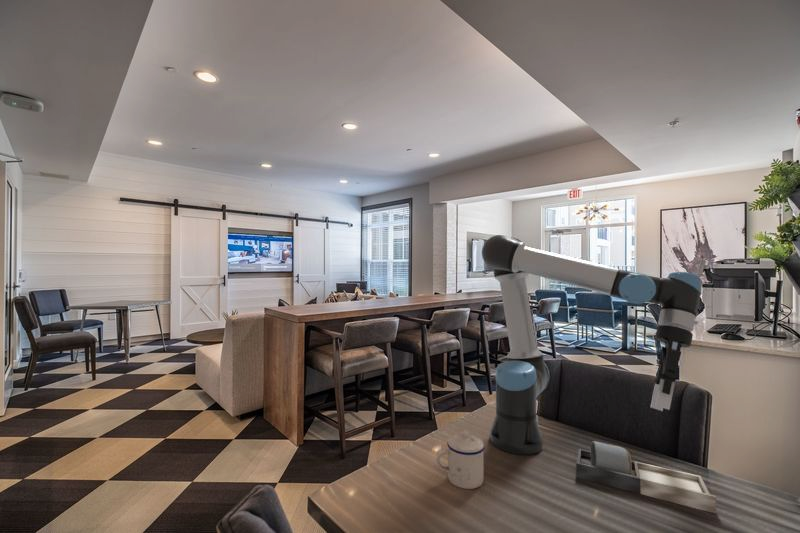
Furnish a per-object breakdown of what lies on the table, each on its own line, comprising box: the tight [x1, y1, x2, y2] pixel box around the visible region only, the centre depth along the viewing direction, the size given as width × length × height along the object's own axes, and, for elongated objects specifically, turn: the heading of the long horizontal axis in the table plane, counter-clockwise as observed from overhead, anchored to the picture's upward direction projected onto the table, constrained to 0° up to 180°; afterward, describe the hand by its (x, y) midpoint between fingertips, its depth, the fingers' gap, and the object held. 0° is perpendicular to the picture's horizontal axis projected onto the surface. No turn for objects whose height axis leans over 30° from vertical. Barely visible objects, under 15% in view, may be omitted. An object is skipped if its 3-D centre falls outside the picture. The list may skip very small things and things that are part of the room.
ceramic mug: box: [590, 440, 633, 475], centre depth 91 cm, size 11×8×8 cm
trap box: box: [575, 448, 717, 514], centre depth 87 cm, size 27×13×4 cm, turn 60°
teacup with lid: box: [435, 430, 485, 490], centre depth 87 cm, size 12×9×12 cm
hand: (659, 408), depth 89 cm, fingers open, 13 cm apart
